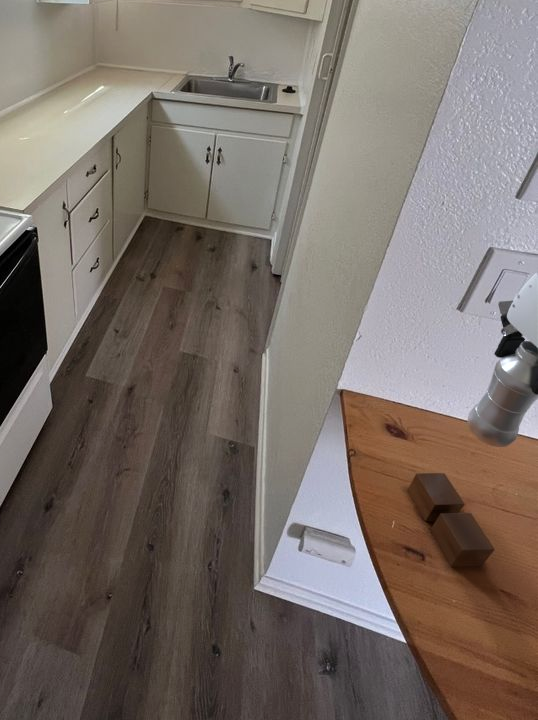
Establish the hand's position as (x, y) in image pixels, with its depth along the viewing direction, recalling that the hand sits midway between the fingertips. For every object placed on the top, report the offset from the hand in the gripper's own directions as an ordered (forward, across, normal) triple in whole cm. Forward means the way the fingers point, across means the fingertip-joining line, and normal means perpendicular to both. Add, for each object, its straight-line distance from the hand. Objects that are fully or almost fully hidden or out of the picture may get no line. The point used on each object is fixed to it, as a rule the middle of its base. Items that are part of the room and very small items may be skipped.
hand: (522, 372), depth 67 cm
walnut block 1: (+23, -7, +12) cm, 27 cm away
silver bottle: (+15, 0, 0) cm, 15 cm away
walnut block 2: (+23, -13, +12) cm, 29 cm away
